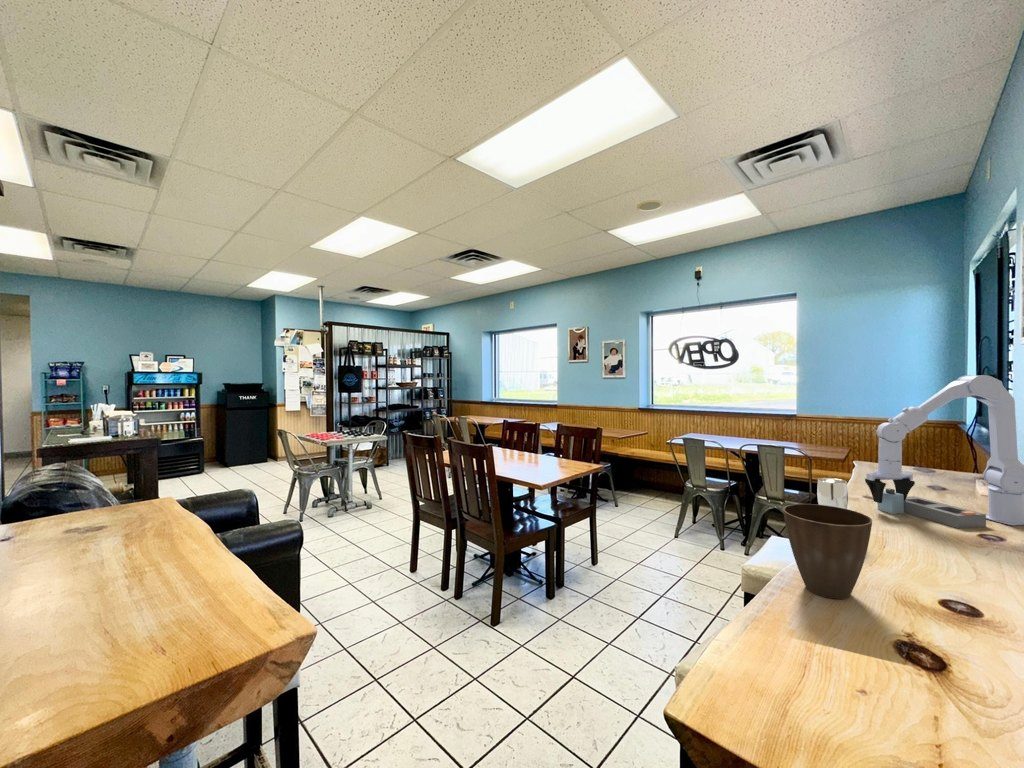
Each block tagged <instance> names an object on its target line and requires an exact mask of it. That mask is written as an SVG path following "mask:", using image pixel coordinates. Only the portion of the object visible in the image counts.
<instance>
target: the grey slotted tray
mask: <svg viewBox="0 0 1024 768" xmlns="http://www.w3.org/2000/svg"><path fill="white" fill-rule="evenodd" d="M904 513H905V514H908V515H912V516H915V517H918V518H923V519H925V520H930V521H931V522H932V521H933V522H935V523H939V524H943V525H946V526H949V527H953V528H955V529H969V528H971V529H972V528H982V527H984V528H985V527H987V519H986V515H987V514H986V513H983V512H977V511H975V510H970V509H966V508H962V507H959V506H954V505H950V504H947V503H942V502H939V501H934V500H930V499H927V498H924V497H919V496H914V495H912V496H911V495H909V496H908V495H907V497H906V500H905V501H904Z"/></svg>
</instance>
